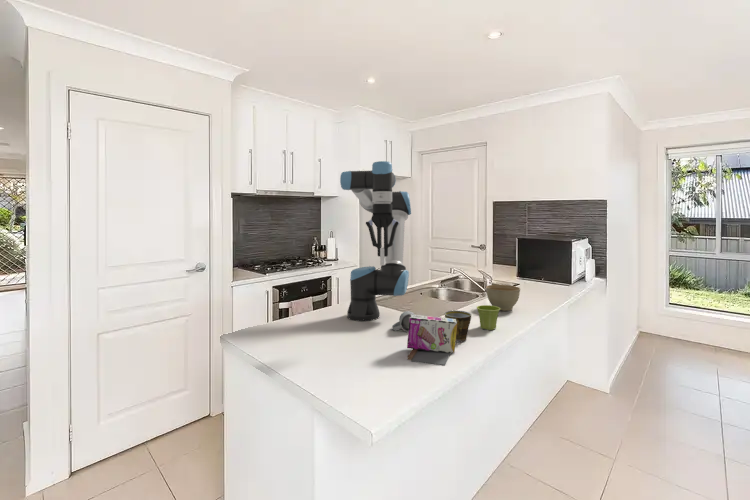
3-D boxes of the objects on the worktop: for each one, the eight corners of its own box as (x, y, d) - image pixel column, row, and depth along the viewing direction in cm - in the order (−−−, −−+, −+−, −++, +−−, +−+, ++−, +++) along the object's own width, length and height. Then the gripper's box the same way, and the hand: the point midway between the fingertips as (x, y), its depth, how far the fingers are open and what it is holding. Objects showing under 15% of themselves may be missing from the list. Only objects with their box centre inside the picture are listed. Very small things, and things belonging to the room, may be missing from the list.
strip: (407, 359, 125) (407, 356, 125) (417, 345, 138) (417, 342, 138) (411, 360, 124) (411, 356, 124) (421, 346, 137) (421, 342, 137)
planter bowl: (524, 312, 181) (525, 290, 180) (491, 313, 181) (491, 290, 180) (513, 304, 197) (513, 284, 196) (481, 305, 197) (482, 284, 196)
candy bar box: (409, 318, 129) (457, 322, 128) (409, 313, 134) (456, 317, 132) (406, 349, 131) (455, 354, 129) (407, 344, 136) (453, 348, 134)
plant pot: (473, 325, 162) (473, 305, 162) (494, 324, 163) (494, 304, 162) (481, 331, 153) (481, 310, 152) (503, 331, 154) (504, 310, 153)
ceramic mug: (415, 326, 162) (415, 308, 161) (419, 332, 153) (418, 313, 153) (391, 327, 161) (390, 309, 160) (393, 333, 153) (392, 314, 152)
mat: (411, 361, 123) (411, 360, 123) (422, 345, 138) (422, 344, 138) (444, 365, 120) (444, 364, 120) (452, 348, 135) (452, 347, 135)
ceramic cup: (445, 334, 151) (446, 309, 150) (471, 336, 148) (472, 311, 147) (441, 345, 138) (442, 318, 137) (470, 347, 135) (470, 320, 134)
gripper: (363, 203, 141) (364, 265, 144) (397, 202, 139) (398, 266, 141) (367, 203, 149) (368, 263, 151) (400, 203, 146) (401, 263, 148)
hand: (382, 264), depth 146 cm, fingers closed
